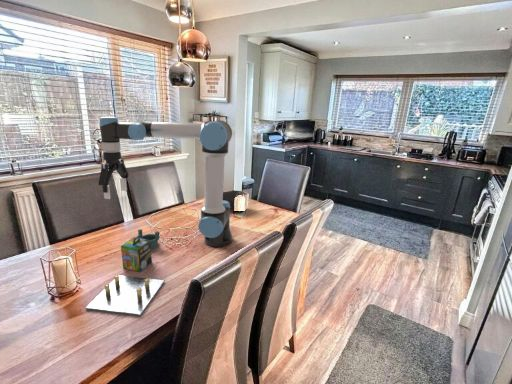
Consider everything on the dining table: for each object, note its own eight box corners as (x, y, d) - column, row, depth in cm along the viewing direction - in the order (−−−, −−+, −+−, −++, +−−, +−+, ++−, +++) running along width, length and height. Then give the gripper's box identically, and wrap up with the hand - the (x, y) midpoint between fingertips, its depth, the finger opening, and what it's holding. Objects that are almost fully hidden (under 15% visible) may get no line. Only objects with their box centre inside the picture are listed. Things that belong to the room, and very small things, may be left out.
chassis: (164, 282, 115) (163, 270, 114) (140, 316, 96) (139, 303, 95) (118, 277, 117) (117, 265, 116) (86, 309, 98) (84, 296, 97)
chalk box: (135, 258, 132) (133, 230, 127) (152, 261, 130) (150, 233, 125) (122, 268, 123) (118, 238, 119) (140, 272, 121) (137, 242, 117)
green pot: (160, 248, 142) (159, 232, 140) (141, 251, 138) (140, 235, 135) (156, 241, 150) (156, 225, 147) (138, 244, 145) (137, 228, 143)
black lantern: (218, 187, 211) (245, 187, 198) (222, 205, 216) (249, 207, 203) (205, 194, 199) (233, 194, 186) (210, 213, 204) (238, 215, 191)
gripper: (119, 147, 142) (123, 187, 148) (85, 154, 118) (91, 201, 124) (133, 148, 141) (136, 188, 147) (102, 155, 117) (107, 203, 124)
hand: (116, 194), depth 136 cm, fingers open, 13 cm apart
